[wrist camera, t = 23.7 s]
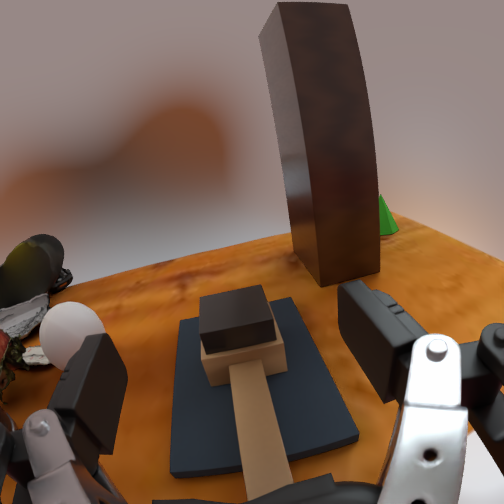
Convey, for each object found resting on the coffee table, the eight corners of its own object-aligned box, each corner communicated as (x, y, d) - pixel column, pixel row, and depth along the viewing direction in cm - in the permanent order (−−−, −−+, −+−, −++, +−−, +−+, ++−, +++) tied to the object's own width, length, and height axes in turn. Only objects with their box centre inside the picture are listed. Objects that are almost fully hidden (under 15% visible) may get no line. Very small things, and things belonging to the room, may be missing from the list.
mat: (175, 478, 15) (169, 472, 14) (182, 327, 31) (179, 320, 31) (358, 441, 16) (359, 433, 15) (291, 304, 32) (290, 296, 32)
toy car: (74, 272, 48) (78, 289, 50) (48, 251, 53) (52, 266, 55) (49, 287, 43) (55, 304, 45) (26, 262, 48) (31, 278, 50)
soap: (74, 348, 30) (71, 342, 30) (57, 369, 26) (54, 362, 25) (23, 351, 30) (20, 345, 30) (6, 368, 26) (3, 362, 25)
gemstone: (378, 238, 44) (377, 200, 42) (358, 227, 50) (355, 193, 47) (406, 230, 45) (405, 194, 43) (384, 220, 51) (383, 188, 48)
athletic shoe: (42, 204, 43) (62, 243, 53) (-56, 277, 31) (-25, 305, 41) (64, 253, 39) (86, 288, 49) (-45, 334, 27) (-8, 356, 37)
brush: (223, 532, 10) (193, 506, 8) (209, 341, 27) (195, 295, 25) (336, 509, 11) (342, 478, 9) (272, 327, 27) (265, 280, 26)
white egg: (62, 281, 23) (27, 352, 19) (127, 324, 27) (98, 392, 23) (52, 293, 30) (26, 346, 26) (100, 326, 34) (78, 377, 30)
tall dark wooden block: (320, 287, 34) (277, 2, 22) (293, 250, 45) (258, 36, 33) (380, 271, 35) (347, 4, 23) (342, 240, 46) (313, 33, 34)
